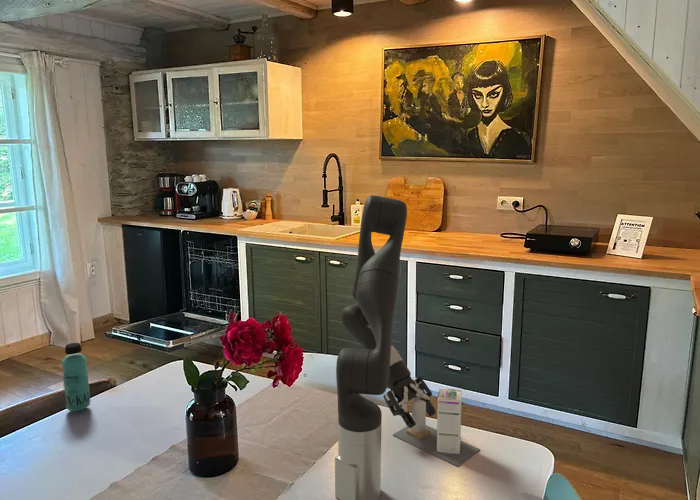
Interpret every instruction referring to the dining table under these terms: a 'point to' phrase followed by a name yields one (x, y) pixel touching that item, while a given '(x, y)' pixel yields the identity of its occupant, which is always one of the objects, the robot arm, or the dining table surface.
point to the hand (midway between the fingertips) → (423, 420)
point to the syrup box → (449, 421)
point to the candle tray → (431, 437)
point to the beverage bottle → (75, 378)
